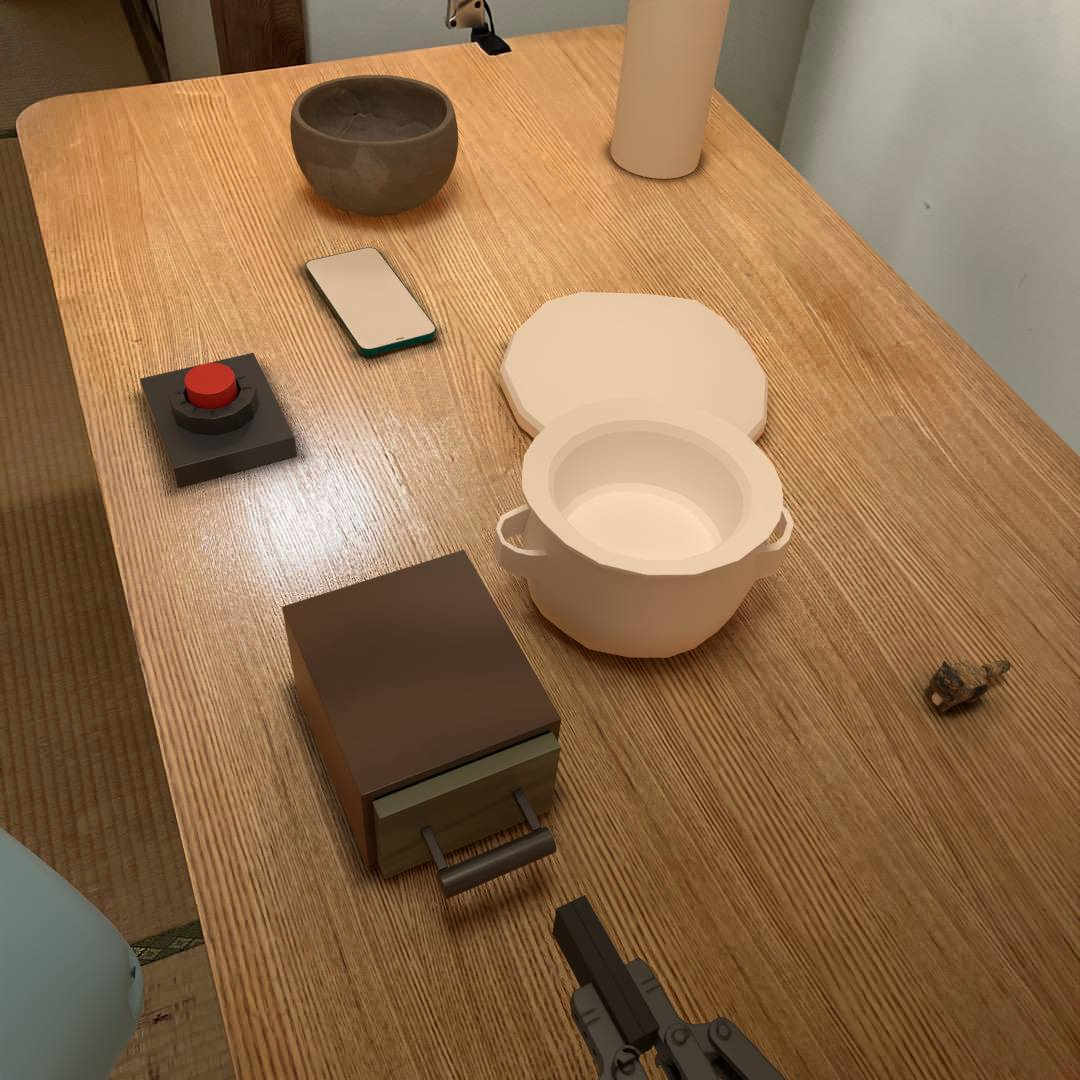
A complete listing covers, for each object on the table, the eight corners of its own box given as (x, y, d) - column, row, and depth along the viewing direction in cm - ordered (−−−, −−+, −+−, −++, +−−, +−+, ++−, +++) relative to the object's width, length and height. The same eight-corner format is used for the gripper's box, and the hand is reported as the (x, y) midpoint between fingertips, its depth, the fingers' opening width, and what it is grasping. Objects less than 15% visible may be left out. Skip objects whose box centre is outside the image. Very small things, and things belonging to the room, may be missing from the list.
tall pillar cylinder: (716, 157, 130) (762, -67, 112) (664, 189, 124) (704, -43, 106) (645, 125, 134) (679, -97, 116) (592, 154, 129) (618, -74, 110)
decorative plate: (501, 268, 104) (753, 280, 106) (499, 303, 107) (744, 315, 109) (499, 444, 88) (798, 456, 89) (497, 480, 91) (786, 491, 92)
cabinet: (549, 797, 71) (561, 718, 64) (368, 872, 67) (360, 796, 60) (461, 634, 80) (464, 549, 72) (296, 691, 75) (281, 606, 68)
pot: (737, 503, 91) (771, 392, 82) (798, 672, 79) (845, 564, 70) (478, 517, 88) (483, 403, 79) (503, 695, 76) (512, 586, 67)
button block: (177, 488, 87) (168, 452, 85) (144, 397, 94) (134, 361, 91) (297, 456, 91) (292, 420, 88) (256, 371, 98) (250, 335, 95)
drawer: (582, 869, 67) (596, 808, 61) (411, 944, 63) (408, 888, 57) (467, 654, 77) (469, 585, 72) (314, 707, 73) (303, 639, 68)
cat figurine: (903, 695, 78) (930, 659, 76) (976, 672, 82) (1004, 638, 79) (928, 725, 77) (957, 690, 74) (1001, 700, 80) (1031, 666, 78)
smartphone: (302, 269, 109) (362, 359, 100) (301, 261, 108) (362, 352, 99) (375, 253, 112) (440, 339, 103) (375, 245, 111) (440, 331, 102)
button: (195, 414, 88) (191, 398, 87) (182, 385, 90) (179, 369, 89) (243, 403, 90) (240, 386, 88) (230, 374, 92) (227, 358, 91)
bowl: (334, 141, 126) (327, 56, 119) (478, 172, 124) (480, 87, 117) (270, 215, 115) (258, 126, 108) (427, 250, 113) (427, 162, 105)
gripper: (724, 1651, 36) (439, 1008, 50) (1006, 1422, 41) (674, 892, 55) (773, 1667, 31) (438, 941, 45) (1091, 1401, 36) (699, 818, 49)
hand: (568, 914), depth 50 cm, fingers closed
